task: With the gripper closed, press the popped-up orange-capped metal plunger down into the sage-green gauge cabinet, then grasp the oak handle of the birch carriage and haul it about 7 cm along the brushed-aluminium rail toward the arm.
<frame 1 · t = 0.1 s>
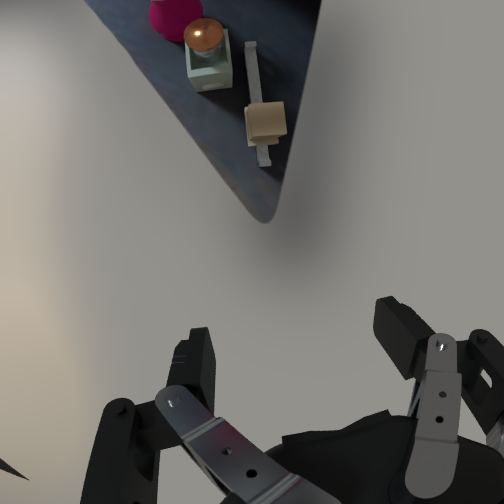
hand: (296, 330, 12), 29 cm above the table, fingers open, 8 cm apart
carriage: (263, 123, 30), point 6 cm above the table, slide at 0.0 cm
rail: (255, 104, 35), on the table
plunger: (205, 43, 23), point 11 cm above the table, slide at 0.0 cm
cabinet: (212, 71, 33), on the table
pepper mill: (181, 26, 30), on the table
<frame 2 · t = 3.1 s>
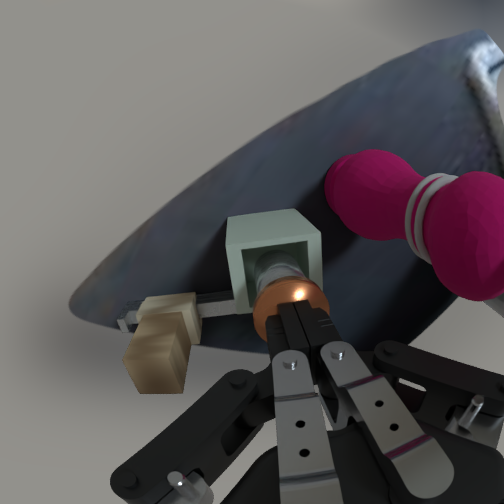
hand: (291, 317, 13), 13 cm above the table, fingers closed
carriage: (164, 338, 22), point 6 cm above the table, slide at 0.0 cm
rail: (210, 299, 27), on the table
plunger: (283, 290, 16), point 10 cm above the table, slide at 0.6 cm, touching gripper
cabinet: (264, 239, 26), on the table
pepper mill: (353, 187, 25), on the table
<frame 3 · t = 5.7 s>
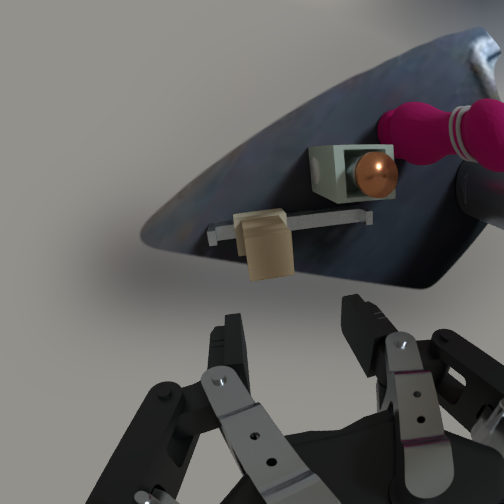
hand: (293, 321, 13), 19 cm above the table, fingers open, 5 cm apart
carriage: (263, 238, 26), point 6 cm above the table, slide at 0.0 cm
rail: (288, 219, 31), on the table
plunger: (363, 172, 23), point 7 cm above the table, slide at 3.4 cm
cabinet: (335, 167, 30), on the table
pepper mill: (396, 134, 29), on the table
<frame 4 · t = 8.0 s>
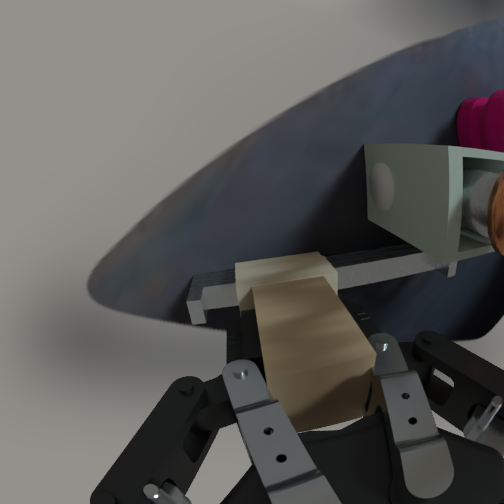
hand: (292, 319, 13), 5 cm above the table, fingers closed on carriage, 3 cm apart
carriage: (295, 325, 13), point 6 cm above the table, slide at 0.0 cm, touching gripper
rail: (327, 266, 18), on the table
plunger: (479, 200, 10), point 7 cm above the table, slide at 3.4 cm
cabinet: (403, 180, 17), on the table
pepper mill: (476, 134, 16), on the table
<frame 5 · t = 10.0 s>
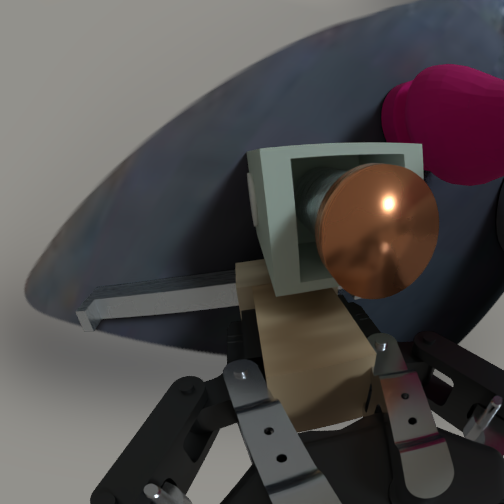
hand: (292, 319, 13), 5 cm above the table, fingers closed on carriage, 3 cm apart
carriage: (295, 325, 13), point 6 cm above the table, slide at 7.5 cm, touching gripper
rail: (216, 282, 18), on the table
plunger: (348, 212, 10), point 7 cm above the table, slide at 3.4 cm
cabinet: (301, 187, 16), on the table
pepper mill: (414, 125, 16), on the table
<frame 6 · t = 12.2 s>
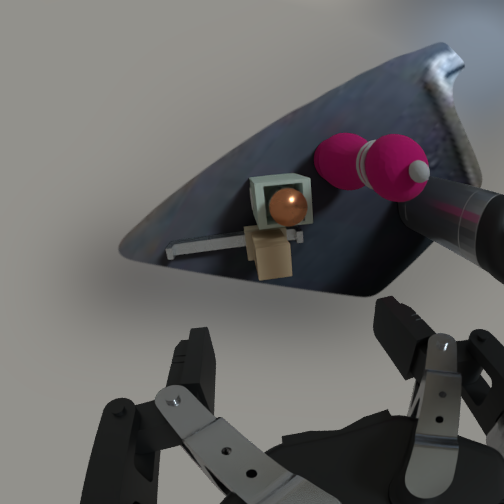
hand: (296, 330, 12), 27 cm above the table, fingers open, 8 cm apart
carriage: (268, 247, 33), point 6 cm above the table, slide at 7.5 cm
rail: (233, 237, 39), on the table
plunger: (283, 202, 30), point 7 cm above the table, slide at 3.4 cm
cabinet: (273, 193, 37), on the table
pepper mill: (334, 160, 36), on the table
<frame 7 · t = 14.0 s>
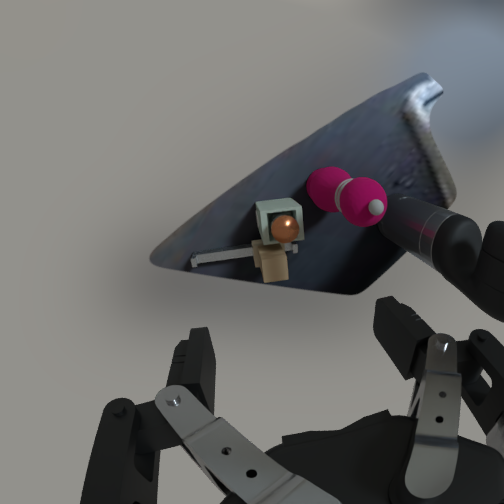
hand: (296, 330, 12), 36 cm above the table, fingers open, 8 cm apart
carriage: (270, 257, 44), point 6 cm above the table, slide at 7.5 cm
rail: (243, 248, 49), on the table
plunger: (282, 224, 40), point 7 cm above the table, slide at 3.4 cm
cabinet: (274, 214, 47), on the table
pepper mill: (323, 185, 46), on the table
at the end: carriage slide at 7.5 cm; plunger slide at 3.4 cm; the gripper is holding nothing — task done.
